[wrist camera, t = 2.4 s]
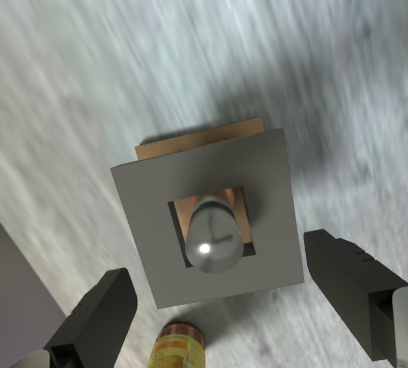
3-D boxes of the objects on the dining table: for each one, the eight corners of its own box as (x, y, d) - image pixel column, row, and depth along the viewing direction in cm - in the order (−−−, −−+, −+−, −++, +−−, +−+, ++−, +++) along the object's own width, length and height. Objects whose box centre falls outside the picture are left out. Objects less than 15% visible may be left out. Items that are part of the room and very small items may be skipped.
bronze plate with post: (137, 146, 20) (61, 160, 10) (259, 117, 20) (321, 97, 9) (170, 253, 23) (137, 355, 12) (277, 231, 22) (342, 322, 12)
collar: (121, 164, 14) (109, 168, 12) (274, 128, 13) (283, 128, 11) (162, 291, 16) (157, 309, 14) (294, 267, 15) (304, 282, 14)
